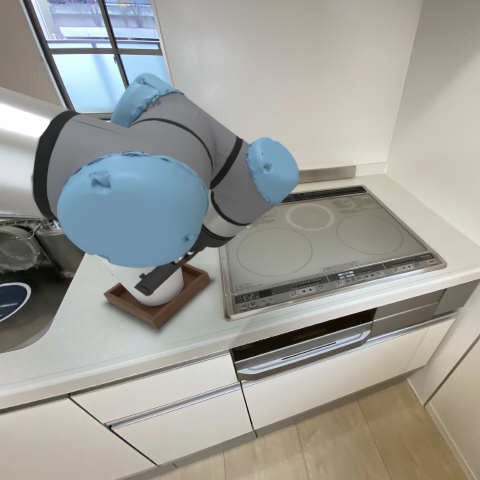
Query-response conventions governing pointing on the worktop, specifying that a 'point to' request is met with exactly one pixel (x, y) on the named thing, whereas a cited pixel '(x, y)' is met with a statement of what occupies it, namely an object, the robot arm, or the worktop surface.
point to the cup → (131, 278)
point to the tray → (162, 313)
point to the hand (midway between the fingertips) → (167, 265)
